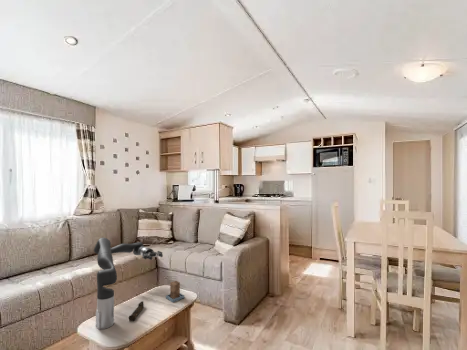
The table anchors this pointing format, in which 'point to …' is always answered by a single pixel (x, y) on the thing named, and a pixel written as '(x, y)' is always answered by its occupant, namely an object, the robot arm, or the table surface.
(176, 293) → the walnut block
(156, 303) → the table surface
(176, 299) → the tray
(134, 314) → the brown rough rod
